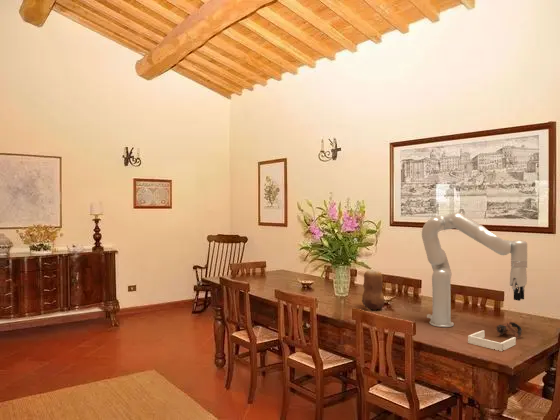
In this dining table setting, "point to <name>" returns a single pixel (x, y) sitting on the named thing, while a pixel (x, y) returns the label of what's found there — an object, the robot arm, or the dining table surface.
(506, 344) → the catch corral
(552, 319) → the dining table surface
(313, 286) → the dining table surface
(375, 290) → the butternut squash
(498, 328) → the pottery mug
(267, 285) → the dining table surface
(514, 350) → the dining table surface
